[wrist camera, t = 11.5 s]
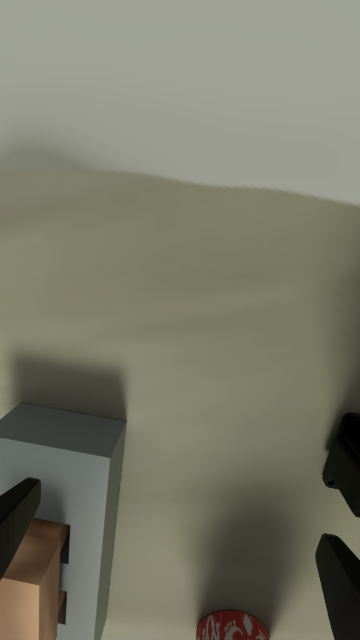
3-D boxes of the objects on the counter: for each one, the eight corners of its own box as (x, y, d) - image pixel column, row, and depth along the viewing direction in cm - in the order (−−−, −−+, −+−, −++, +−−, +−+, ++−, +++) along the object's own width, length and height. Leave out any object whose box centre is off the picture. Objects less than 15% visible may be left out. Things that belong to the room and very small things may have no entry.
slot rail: (126, 421, 22) (109, 457, 18) (105, 619, 28) (90, 679, 24) (21, 402, 22) (-18, 434, 18) (23, 602, 28) (-6, 657, 24)
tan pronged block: (84, 493, 23) (39, 585, 16) (79, 577, 25) (38, 685, 19) (45, 485, 23) (-16, 574, 16) (43, 569, 25) (-10, 674, 19)
